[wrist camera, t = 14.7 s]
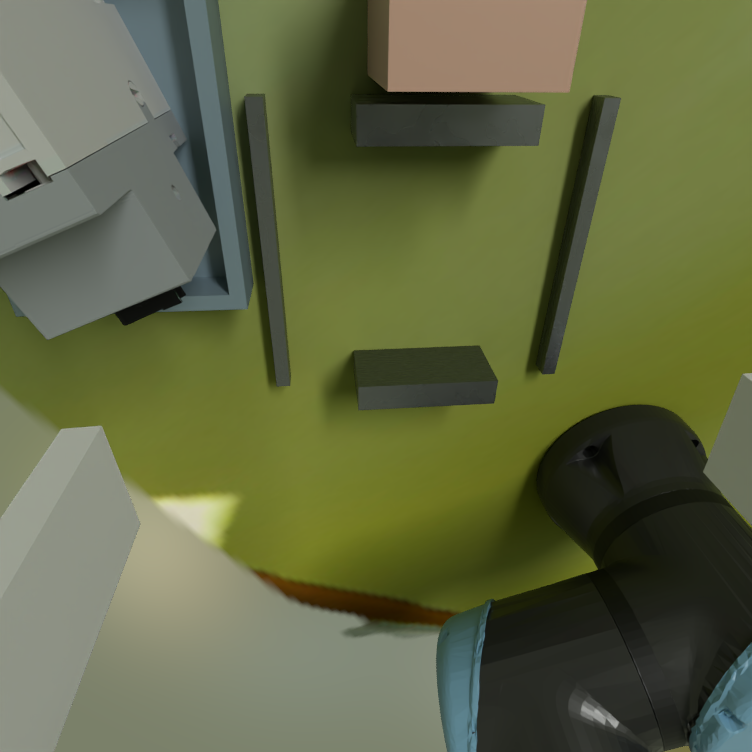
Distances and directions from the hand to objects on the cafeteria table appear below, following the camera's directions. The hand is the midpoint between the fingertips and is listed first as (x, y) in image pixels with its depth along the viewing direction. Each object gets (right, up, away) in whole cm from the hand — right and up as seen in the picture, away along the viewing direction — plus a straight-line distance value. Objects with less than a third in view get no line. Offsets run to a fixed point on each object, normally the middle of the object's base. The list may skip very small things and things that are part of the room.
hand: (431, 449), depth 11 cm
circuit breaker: (-16, +15, +19) cm, 29 cm away
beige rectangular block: (+2, +22, +18) cm, 28 cm away
